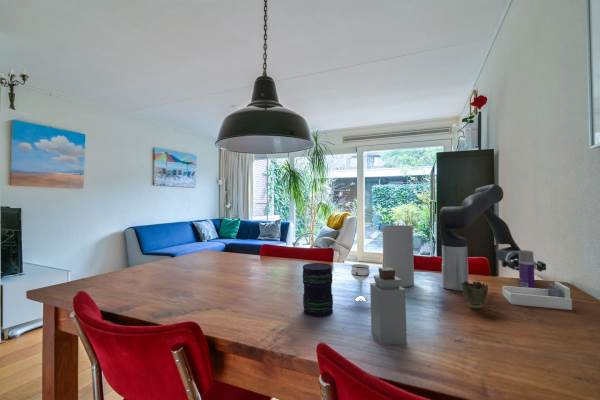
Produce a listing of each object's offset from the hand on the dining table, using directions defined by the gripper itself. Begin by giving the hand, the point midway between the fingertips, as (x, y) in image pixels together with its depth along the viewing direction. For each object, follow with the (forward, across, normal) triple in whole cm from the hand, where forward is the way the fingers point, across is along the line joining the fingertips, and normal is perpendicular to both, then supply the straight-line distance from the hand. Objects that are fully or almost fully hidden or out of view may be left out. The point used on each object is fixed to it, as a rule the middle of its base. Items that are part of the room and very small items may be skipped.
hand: (526, 267), depth 111 cm
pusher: (+16, +4, +8) cm, 18 cm away
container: (-1, 0, +9) cm, 9 cm away
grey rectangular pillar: (+11, -47, +9) cm, 49 cm away
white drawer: (+16, -2, +8) cm, 18 cm away
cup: (+31, -20, +9) cm, 38 cm away
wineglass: (+37, -57, +9) cm, 68 cm away
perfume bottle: (+64, -42, +9) cm, 77 cm away
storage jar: (+55, -66, +9) cm, 87 cm away
